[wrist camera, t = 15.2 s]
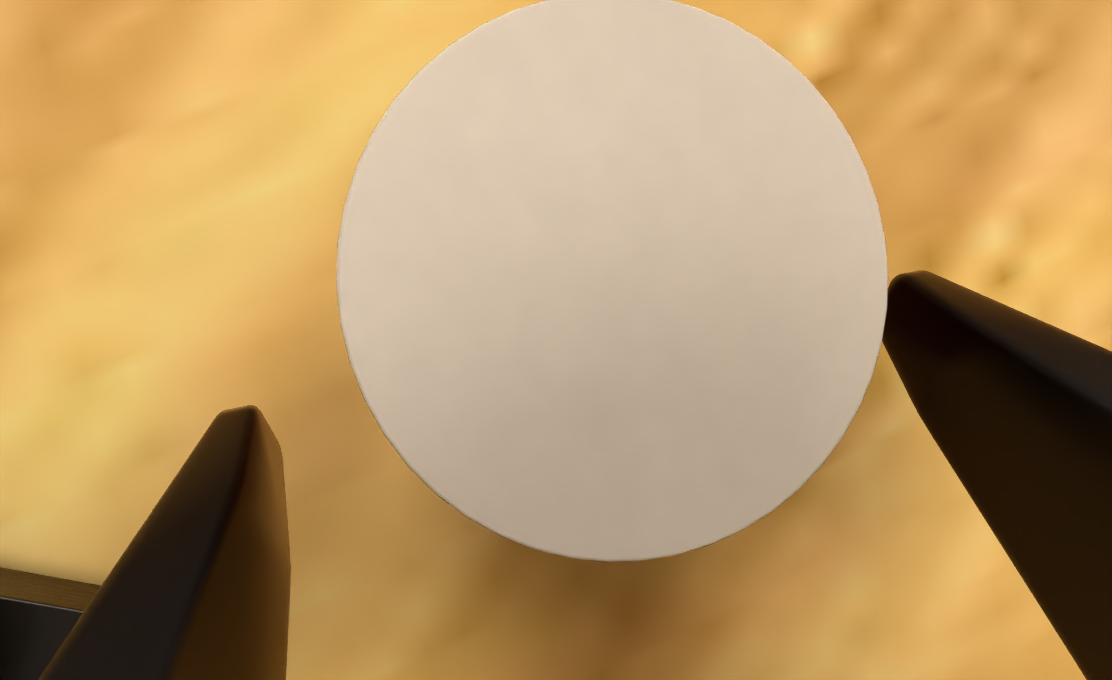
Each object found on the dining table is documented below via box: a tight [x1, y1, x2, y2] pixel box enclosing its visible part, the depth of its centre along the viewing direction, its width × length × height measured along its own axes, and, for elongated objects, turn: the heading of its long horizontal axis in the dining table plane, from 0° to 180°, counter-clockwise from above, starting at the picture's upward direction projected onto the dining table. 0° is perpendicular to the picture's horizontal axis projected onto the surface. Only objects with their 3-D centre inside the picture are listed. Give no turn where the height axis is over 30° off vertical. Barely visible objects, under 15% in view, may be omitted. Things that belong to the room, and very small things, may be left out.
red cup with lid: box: [336, 0, 888, 562], centre depth 11 cm, size 6×6×9 cm
